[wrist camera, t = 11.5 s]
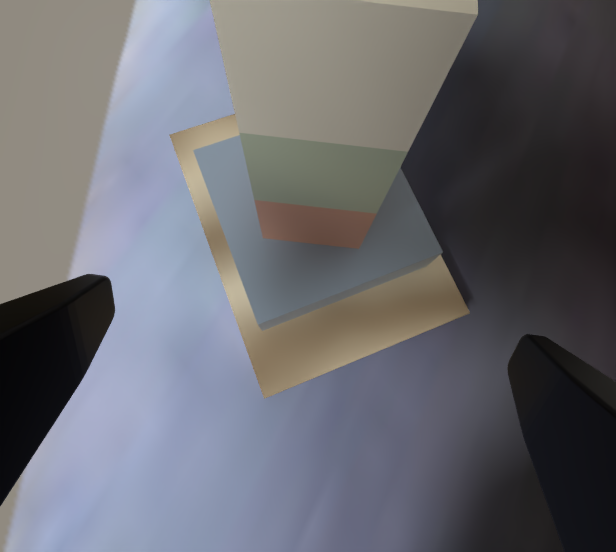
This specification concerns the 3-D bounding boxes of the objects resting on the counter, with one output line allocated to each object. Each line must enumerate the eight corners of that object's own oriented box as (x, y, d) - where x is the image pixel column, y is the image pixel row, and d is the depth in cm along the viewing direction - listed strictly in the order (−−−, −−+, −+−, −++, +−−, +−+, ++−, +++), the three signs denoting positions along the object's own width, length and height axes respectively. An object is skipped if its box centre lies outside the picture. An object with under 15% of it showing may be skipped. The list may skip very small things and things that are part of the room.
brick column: (358, 248, 18) (503, -36, 6) (262, 238, 18) (193, -72, 6) (365, 162, 19) (498, -235, 7) (275, 152, 19) (239, -266, 7)
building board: (460, 316, 21) (469, 312, 20) (266, 397, 20) (264, 398, 19) (348, 91, 24) (351, 76, 23) (175, 147, 23) (169, 134, 22)
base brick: (426, 266, 20) (443, 252, 18) (262, 330, 19) (257, 324, 17) (356, 123, 22) (363, 94, 20) (204, 175, 21) (193, 150, 19)
